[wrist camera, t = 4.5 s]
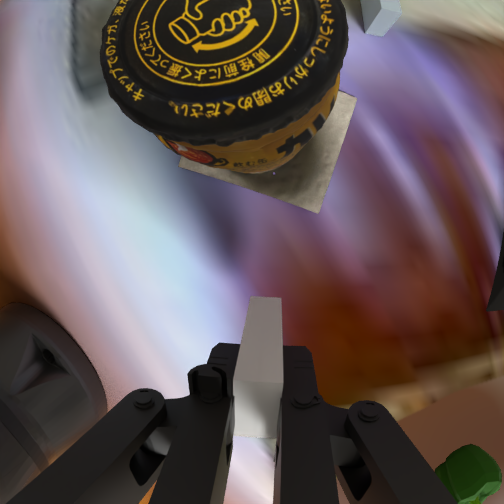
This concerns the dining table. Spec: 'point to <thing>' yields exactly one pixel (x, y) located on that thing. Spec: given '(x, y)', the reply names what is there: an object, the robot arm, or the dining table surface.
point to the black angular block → (498, 285)
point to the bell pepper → (470, 475)
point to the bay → (379, 15)
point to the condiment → (236, 87)
